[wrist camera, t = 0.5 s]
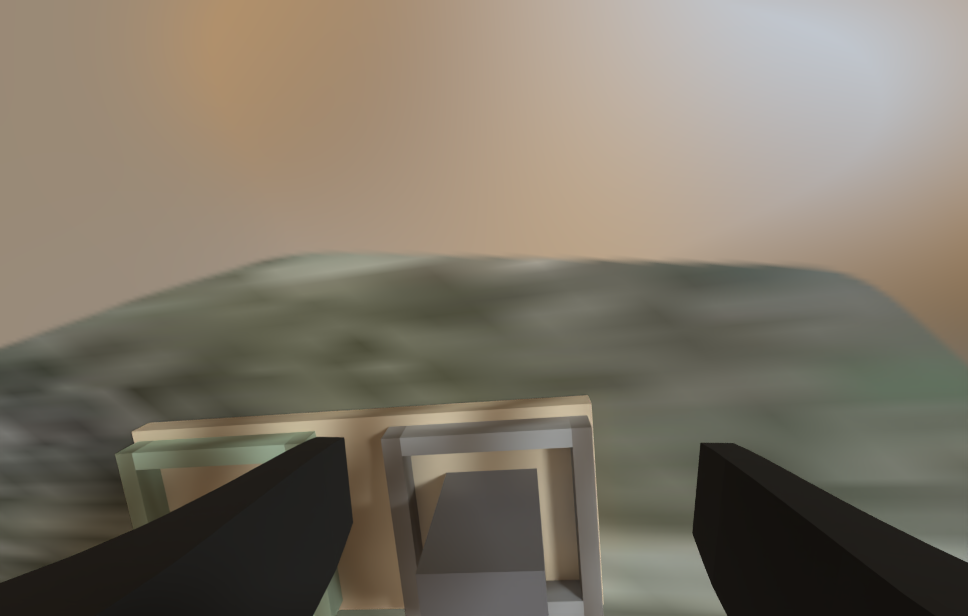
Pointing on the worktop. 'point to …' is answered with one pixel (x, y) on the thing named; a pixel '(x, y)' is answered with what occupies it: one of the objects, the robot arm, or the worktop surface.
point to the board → (397, 484)
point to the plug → (485, 547)
